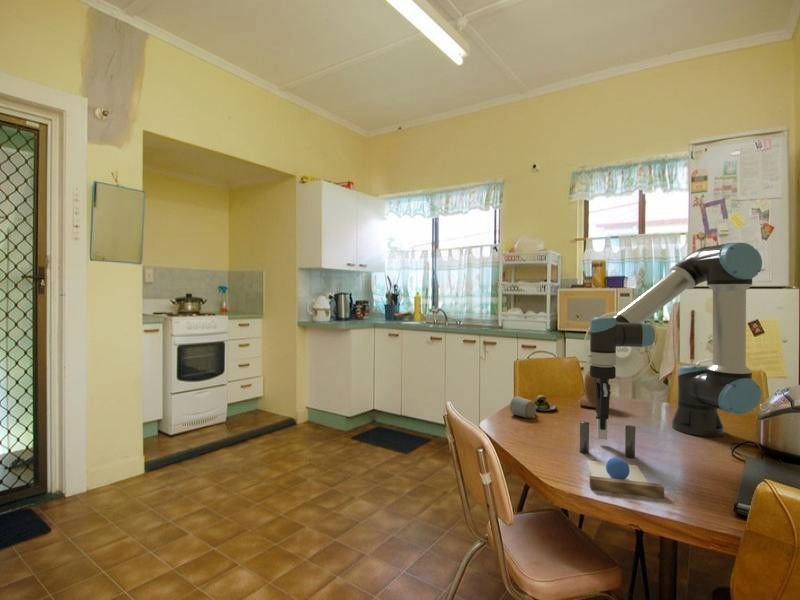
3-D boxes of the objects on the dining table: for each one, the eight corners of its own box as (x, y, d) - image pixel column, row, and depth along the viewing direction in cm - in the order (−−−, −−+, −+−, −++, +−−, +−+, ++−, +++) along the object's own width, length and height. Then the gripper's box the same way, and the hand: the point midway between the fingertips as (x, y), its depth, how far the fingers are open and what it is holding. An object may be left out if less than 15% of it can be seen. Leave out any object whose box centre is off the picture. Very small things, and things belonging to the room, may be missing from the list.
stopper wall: (661, 494, 104) (661, 484, 104) (664, 498, 102) (664, 487, 102) (589, 485, 108) (589, 475, 108) (590, 489, 106) (590, 479, 106)
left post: (588, 450, 133) (588, 421, 133) (589, 453, 130) (589, 424, 130) (579, 450, 133) (579, 421, 133) (580, 453, 131) (580, 423, 131)
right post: (633, 455, 129) (634, 425, 129) (636, 458, 127) (636, 428, 127) (624, 454, 130) (624, 424, 130) (626, 457, 127) (626, 427, 127)
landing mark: (637, 466, 121) (637, 465, 121) (649, 485, 109) (649, 484, 109) (586, 460, 125) (586, 460, 125) (593, 479, 112) (593, 478, 112)
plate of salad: (528, 412, 177) (529, 394, 177) (525, 405, 189) (526, 388, 189) (559, 414, 175) (559, 396, 175) (554, 407, 187) (554, 389, 186)
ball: (628, 483, 112) (624, 461, 116) (634, 477, 108) (629, 455, 111) (605, 481, 113) (602, 460, 117) (610, 475, 109) (606, 453, 112)
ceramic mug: (526, 420, 165) (526, 401, 165) (509, 415, 171) (509, 397, 171) (541, 416, 172) (541, 397, 172) (524, 412, 178) (524, 394, 178)
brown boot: (606, 411, 178) (606, 375, 178) (575, 407, 185) (576, 372, 185) (612, 403, 191) (612, 370, 191) (583, 400, 198) (583, 367, 198)
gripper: (587, 361, 146) (586, 431, 146) (592, 367, 133) (592, 444, 133) (611, 362, 144) (611, 433, 144) (619, 369, 131) (618, 446, 131)
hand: (601, 438), depth 139 cm, fingers closed
